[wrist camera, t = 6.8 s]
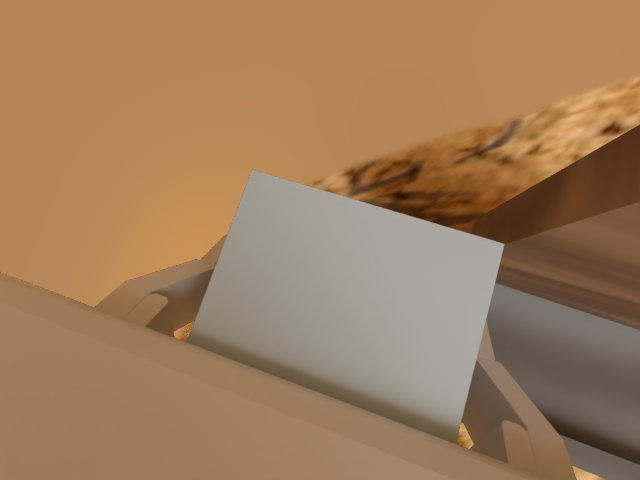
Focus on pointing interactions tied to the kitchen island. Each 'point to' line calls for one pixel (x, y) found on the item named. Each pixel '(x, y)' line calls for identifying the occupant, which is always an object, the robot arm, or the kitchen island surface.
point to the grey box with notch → (351, 302)
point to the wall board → (575, 303)
